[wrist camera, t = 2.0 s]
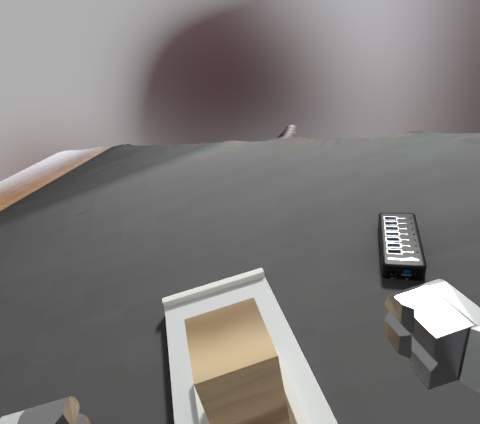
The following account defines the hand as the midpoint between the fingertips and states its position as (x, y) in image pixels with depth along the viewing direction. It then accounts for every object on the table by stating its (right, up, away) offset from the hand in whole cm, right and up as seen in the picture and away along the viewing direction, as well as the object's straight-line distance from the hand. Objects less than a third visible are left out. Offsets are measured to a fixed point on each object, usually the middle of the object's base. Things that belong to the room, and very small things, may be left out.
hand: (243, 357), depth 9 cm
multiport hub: (+20, -1, +34) cm, 40 cm away
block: (+1, -13, +18) cm, 22 cm away
